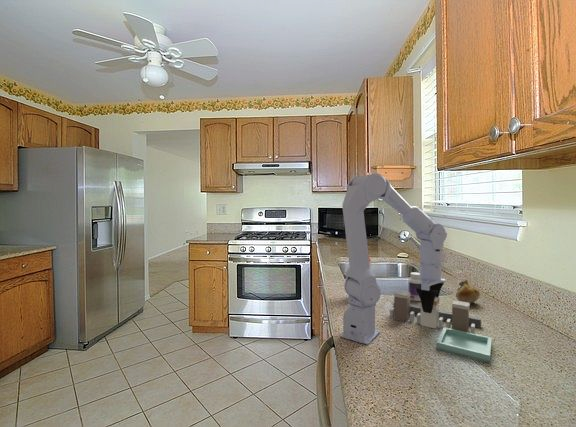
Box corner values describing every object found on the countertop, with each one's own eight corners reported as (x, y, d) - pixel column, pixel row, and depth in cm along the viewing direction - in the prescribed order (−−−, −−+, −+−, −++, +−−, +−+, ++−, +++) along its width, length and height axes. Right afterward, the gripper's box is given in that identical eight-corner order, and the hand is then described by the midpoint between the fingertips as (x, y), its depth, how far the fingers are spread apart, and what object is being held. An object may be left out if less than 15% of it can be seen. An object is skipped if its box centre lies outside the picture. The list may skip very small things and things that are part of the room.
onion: (451, 303, 108) (451, 281, 108) (459, 298, 114) (459, 277, 113) (475, 308, 103) (475, 285, 102) (482, 303, 108) (482, 281, 108)
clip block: (478, 336, 81) (479, 328, 81) (386, 316, 96) (386, 308, 96) (481, 325, 89) (481, 317, 89) (395, 307, 103) (395, 301, 103)
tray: (489, 363, 68) (489, 355, 68) (436, 349, 74) (436, 342, 74) (491, 344, 77) (491, 337, 77) (443, 333, 83) (444, 327, 83)
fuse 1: (406, 321, 92) (407, 295, 91) (393, 318, 94) (394, 293, 94) (410, 317, 95) (410, 292, 94) (397, 315, 97) (397, 290, 97)
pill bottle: (426, 301, 110) (426, 275, 109) (411, 301, 110) (411, 275, 110) (420, 296, 115) (420, 271, 115) (405, 296, 115) (406, 271, 115)
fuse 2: (467, 335, 82) (468, 306, 82) (451, 331, 84) (452, 303, 84) (469, 330, 85) (469, 302, 85) (453, 327, 88) (454, 300, 87)
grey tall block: (436, 328, 87) (436, 301, 86) (420, 325, 89) (420, 298, 89) (438, 323, 90) (439, 297, 90) (423, 320, 93) (423, 294, 92)
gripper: (441, 269, 81) (440, 319, 81) (449, 260, 92) (448, 304, 93) (413, 266, 85) (413, 313, 85) (424, 258, 96) (424, 299, 97)
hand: (430, 308), depth 89 cm, fingers open, 7 cm apart
